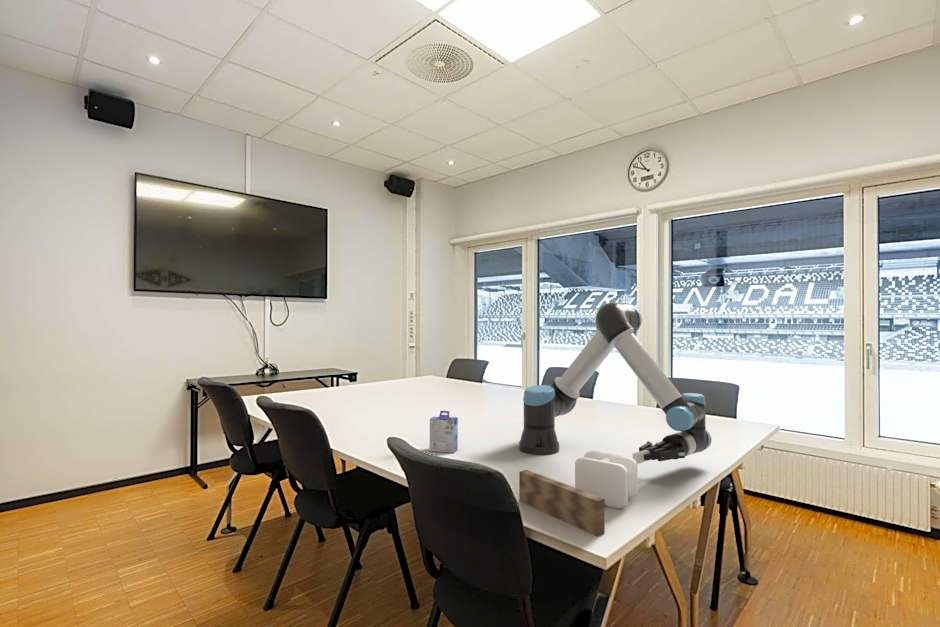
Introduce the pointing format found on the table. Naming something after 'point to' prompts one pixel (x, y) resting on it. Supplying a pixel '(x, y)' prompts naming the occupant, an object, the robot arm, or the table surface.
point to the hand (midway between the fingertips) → (635, 458)
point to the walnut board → (563, 502)
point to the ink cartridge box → (444, 433)
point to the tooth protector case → (607, 477)
